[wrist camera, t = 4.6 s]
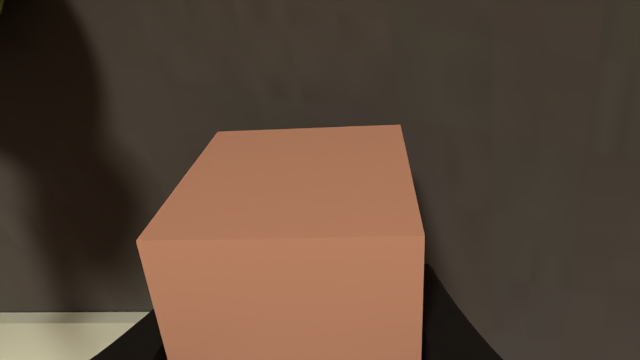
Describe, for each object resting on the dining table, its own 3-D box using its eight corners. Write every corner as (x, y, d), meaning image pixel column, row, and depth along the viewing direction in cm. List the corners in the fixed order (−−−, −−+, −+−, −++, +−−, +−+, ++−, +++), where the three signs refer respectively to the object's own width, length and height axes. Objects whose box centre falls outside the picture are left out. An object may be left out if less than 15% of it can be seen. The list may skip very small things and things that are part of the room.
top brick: (399, 369, 15) (415, 547, 11) (256, 368, 16) (215, 539, 11) (400, 124, 12) (425, 236, 7) (217, 131, 12) (135, 240, 8)
